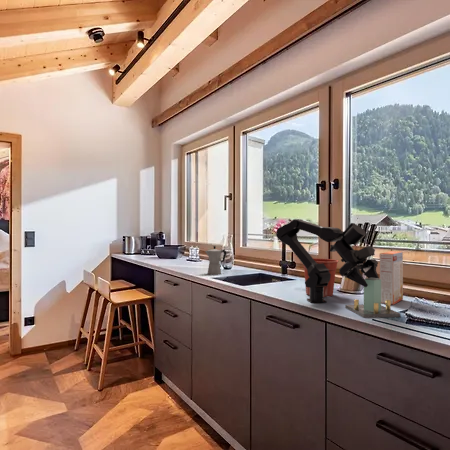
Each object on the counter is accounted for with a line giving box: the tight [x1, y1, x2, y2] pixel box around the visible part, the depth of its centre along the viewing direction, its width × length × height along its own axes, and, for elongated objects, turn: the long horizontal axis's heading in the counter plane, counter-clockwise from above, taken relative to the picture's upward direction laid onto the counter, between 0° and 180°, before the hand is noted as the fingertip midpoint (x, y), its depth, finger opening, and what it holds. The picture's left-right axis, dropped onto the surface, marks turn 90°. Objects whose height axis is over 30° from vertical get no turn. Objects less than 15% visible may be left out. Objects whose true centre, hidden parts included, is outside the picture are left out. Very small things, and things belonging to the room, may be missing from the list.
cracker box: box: [379, 250, 404, 305], centre depth 157 cm, size 14×6×21 cm, turn 140°
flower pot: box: [302, 257, 339, 298], centre depth 171 cm, size 16×16×16 cm
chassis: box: [344, 298, 401, 319], centre depth 137 cm, size 15×14×5 cm
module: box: [363, 277, 382, 311], centre depth 136 cm, size 4×5×11 cm
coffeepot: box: [205, 245, 228, 276], centre depth 241 cm, size 15×9×18 cm, turn 118°
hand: (373, 285), depth 135 cm, fingers open, 9 cm apart
